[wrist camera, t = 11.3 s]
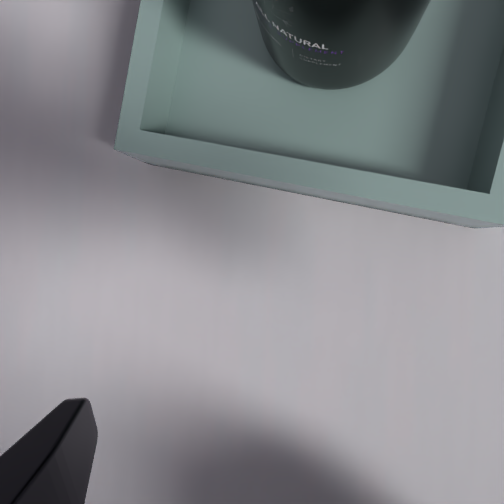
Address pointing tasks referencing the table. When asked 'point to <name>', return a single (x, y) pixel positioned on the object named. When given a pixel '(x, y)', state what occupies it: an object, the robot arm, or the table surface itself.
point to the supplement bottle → (337, 37)
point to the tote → (325, 111)
